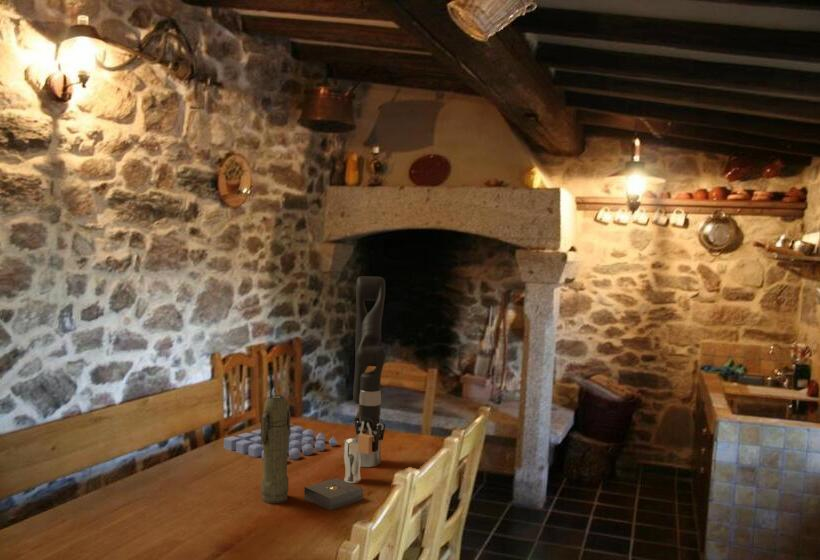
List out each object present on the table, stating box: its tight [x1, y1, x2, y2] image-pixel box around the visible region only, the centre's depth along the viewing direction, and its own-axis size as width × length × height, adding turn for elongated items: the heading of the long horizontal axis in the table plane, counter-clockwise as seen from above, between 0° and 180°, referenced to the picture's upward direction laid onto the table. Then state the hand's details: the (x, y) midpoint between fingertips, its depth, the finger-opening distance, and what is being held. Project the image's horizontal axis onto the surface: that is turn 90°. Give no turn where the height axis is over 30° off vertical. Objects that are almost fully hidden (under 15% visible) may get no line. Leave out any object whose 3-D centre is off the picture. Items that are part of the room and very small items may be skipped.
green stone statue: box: [260, 394, 291, 504], centre depth 236 cm, size 9×12×35 cm
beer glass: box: [343, 437, 362, 484], centre depth 257 cm, size 7×7×15 cm
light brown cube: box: [358, 432, 380, 454], centre depth 247 cm, size 6×6×6 cm
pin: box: [329, 486, 338, 490], centre depth 238 cm, size 3×3×4 cm
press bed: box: [303, 477, 364, 511], centre depth 238 cm, size 14×14×4 cm
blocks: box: [223, 423, 338, 461], centre depth 296 cm, size 35×34×5 cm
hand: (369, 449), depth 247 cm, fingers closed on light brown cube, 5 cm apart
